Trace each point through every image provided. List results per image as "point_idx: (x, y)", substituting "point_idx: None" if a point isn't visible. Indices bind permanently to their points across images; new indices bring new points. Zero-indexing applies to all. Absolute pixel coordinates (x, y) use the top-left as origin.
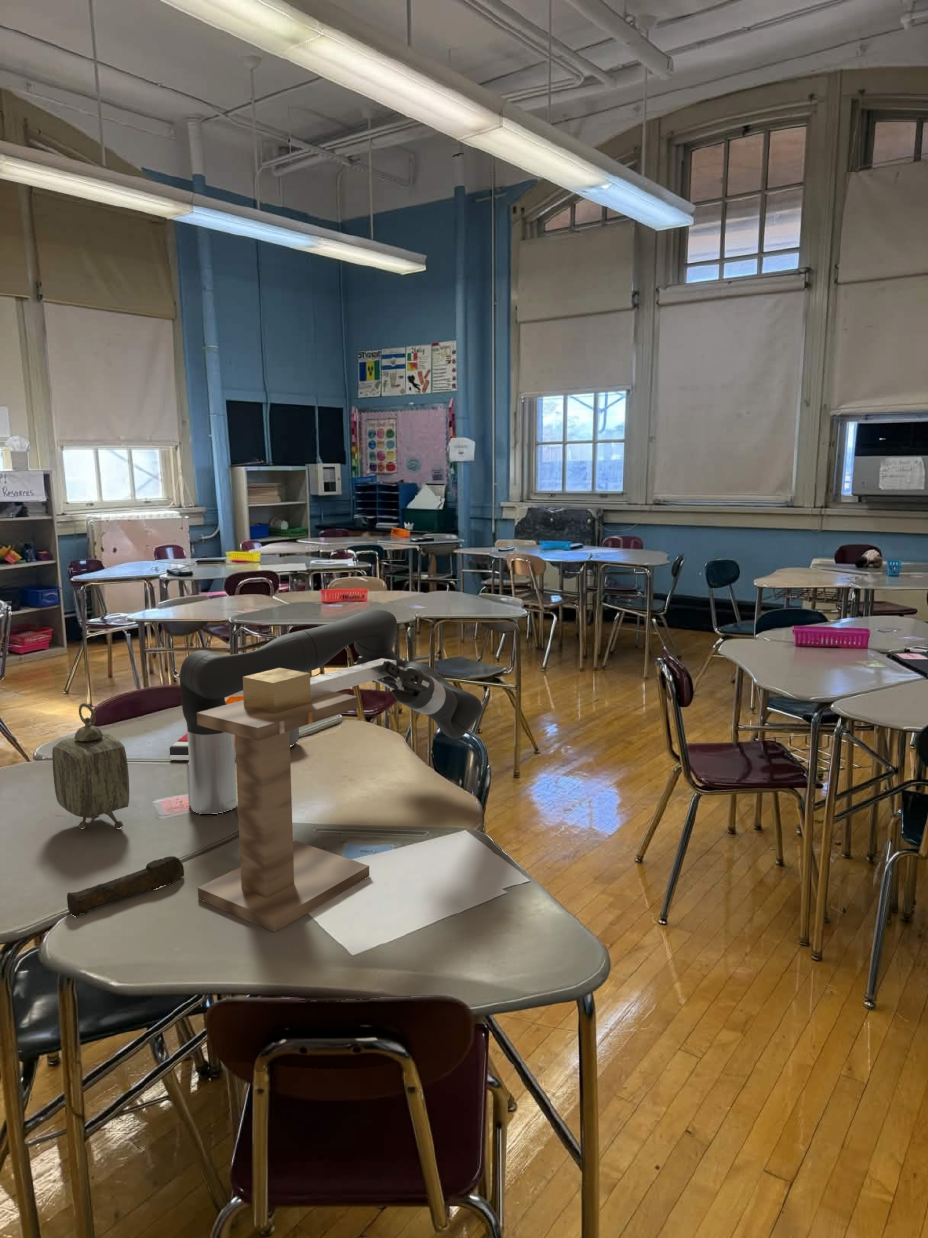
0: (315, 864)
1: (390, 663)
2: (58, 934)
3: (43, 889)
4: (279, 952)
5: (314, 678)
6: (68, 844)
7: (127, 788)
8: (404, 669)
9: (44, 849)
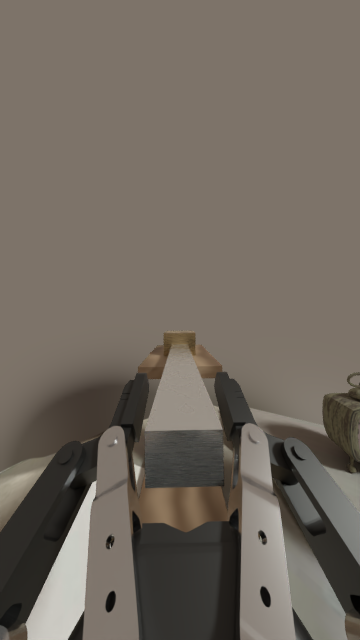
0: (176, 510)
1: (133, 385)
2: (218, 408)
3: (260, 416)
4: (141, 437)
5: (183, 348)
6: (321, 441)
7: (348, 442)
8: (98, 453)
9: (315, 432)
